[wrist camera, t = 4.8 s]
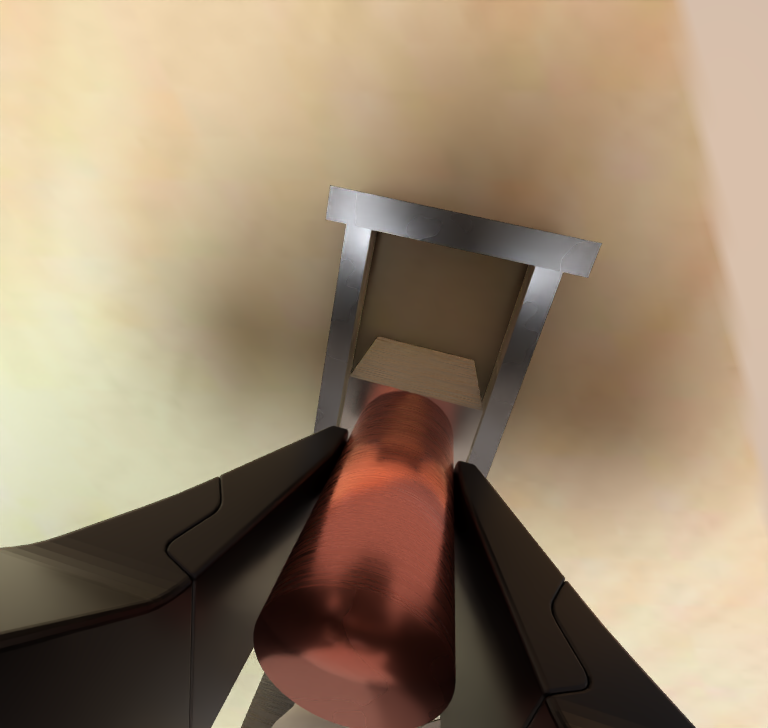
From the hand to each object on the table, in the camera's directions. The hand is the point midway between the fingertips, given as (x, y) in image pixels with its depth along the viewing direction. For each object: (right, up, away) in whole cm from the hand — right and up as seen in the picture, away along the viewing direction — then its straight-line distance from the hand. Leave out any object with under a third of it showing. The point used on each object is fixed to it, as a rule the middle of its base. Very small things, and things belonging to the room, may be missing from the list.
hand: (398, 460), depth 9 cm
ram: (+1, +1, +5) cm, 5 cm away
